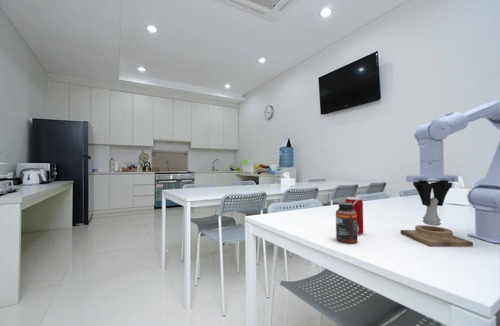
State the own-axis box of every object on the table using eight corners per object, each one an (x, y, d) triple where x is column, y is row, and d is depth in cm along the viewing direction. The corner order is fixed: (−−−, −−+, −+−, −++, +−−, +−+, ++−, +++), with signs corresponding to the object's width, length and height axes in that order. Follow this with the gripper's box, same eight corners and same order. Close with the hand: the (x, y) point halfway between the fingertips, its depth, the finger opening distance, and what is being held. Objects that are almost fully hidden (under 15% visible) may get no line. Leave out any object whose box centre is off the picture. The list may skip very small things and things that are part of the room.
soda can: (342, 232, 75) (341, 197, 76) (350, 229, 79) (350, 195, 79) (358, 236, 71) (357, 199, 71) (366, 233, 74) (365, 197, 75)
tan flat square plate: (436, 233, 74) (436, 223, 74) (472, 246, 62) (472, 234, 62) (400, 233, 74) (400, 223, 74) (429, 246, 62) (429, 234, 62)
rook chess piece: (444, 226, 66) (445, 199, 66) (427, 225, 67) (427, 199, 66) (435, 222, 70) (435, 197, 70) (419, 221, 71) (419, 196, 71)
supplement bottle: (357, 239, 68) (356, 202, 69) (357, 245, 63) (357, 205, 63) (336, 236, 71) (336, 201, 71) (335, 242, 66) (334, 204, 66)
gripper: (443, 161, 72) (444, 203, 72) (399, 161, 72) (400, 203, 72) (464, 161, 65) (465, 207, 65) (415, 161, 65) (416, 207, 65)
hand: (432, 205), depth 68 cm, fingers closed on rook chess piece, 3 cm apart
